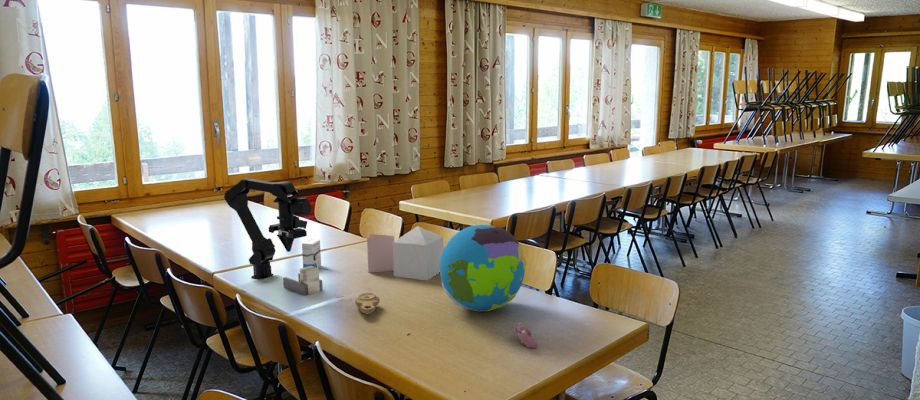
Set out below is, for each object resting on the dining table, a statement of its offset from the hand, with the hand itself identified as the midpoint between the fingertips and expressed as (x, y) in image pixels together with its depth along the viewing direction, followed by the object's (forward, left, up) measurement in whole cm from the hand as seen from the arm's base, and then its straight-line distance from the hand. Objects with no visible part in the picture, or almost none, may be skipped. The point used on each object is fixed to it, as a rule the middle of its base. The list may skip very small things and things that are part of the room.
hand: (288, 251), depth 247 cm
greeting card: (+28, +24, -12) cm, 39 cm away
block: (+18, -11, -11) cm, 24 cm away
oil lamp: (+47, -19, -12) cm, 52 cm away
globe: (+84, -4, -12) cm, 85 cm away
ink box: (-2, +18, -12) cm, 22 cm away
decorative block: (+45, +27, -12) cm, 54 cm away
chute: (+13, -10, -12) cm, 20 cm away
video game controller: (+106, -26, -12) cm, 109 cm away
